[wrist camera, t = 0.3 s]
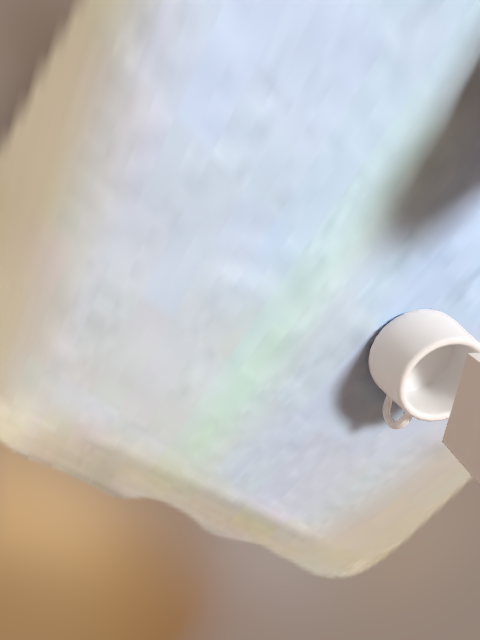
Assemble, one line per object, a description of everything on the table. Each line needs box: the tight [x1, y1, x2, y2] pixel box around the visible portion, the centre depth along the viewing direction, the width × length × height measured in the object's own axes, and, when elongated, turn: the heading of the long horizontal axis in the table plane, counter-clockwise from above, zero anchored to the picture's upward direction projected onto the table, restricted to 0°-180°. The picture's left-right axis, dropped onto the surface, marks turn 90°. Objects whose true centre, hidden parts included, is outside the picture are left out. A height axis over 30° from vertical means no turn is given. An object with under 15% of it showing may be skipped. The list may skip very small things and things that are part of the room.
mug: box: [368, 309, 480, 429], centre depth 40 cm, size 12×10×6 cm
